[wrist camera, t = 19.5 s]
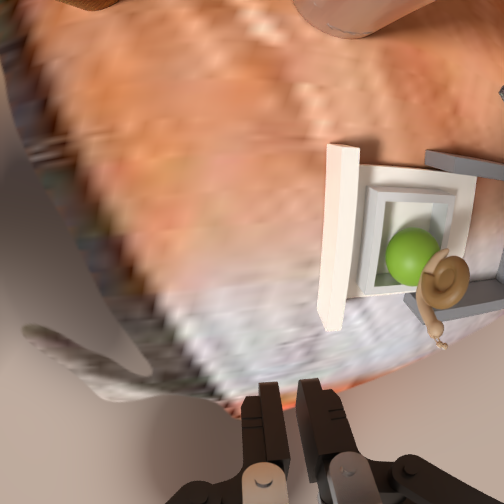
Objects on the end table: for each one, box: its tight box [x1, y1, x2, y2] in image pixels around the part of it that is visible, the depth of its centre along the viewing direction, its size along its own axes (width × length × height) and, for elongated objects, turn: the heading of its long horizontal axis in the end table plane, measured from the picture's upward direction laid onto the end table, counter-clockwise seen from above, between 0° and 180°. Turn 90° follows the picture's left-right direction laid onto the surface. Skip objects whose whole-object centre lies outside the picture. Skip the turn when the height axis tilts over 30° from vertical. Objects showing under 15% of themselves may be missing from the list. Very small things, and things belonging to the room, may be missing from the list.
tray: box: [317, 144, 477, 332], centre depth 27 cm, size 17×17×4 cm
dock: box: [403, 150, 504, 325], centre depth 28 cm, size 17×18×5 cm
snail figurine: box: [385, 227, 470, 350], centre depth 23 cm, size 5×6×12 cm
